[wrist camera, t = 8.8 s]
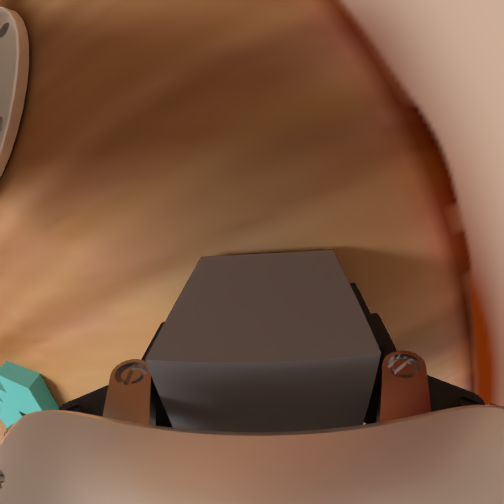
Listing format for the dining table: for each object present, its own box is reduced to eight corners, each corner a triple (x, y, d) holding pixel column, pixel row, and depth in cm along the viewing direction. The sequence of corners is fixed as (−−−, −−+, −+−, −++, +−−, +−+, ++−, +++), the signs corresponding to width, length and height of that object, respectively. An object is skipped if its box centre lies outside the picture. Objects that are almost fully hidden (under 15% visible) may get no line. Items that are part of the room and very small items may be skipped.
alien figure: (144, 395, 16) (-28, 341, 18) (132, 421, 14) (-40, 353, 16) (191, 502, 24) (49, 458, 25) (187, 518, 22) (43, 469, 23)
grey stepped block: (201, 256, 12) (145, 359, 6) (332, 249, 11) (380, 352, 6) (238, 446, 16) (227, 526, 11) (317, 443, 16) (323, 525, 10)
